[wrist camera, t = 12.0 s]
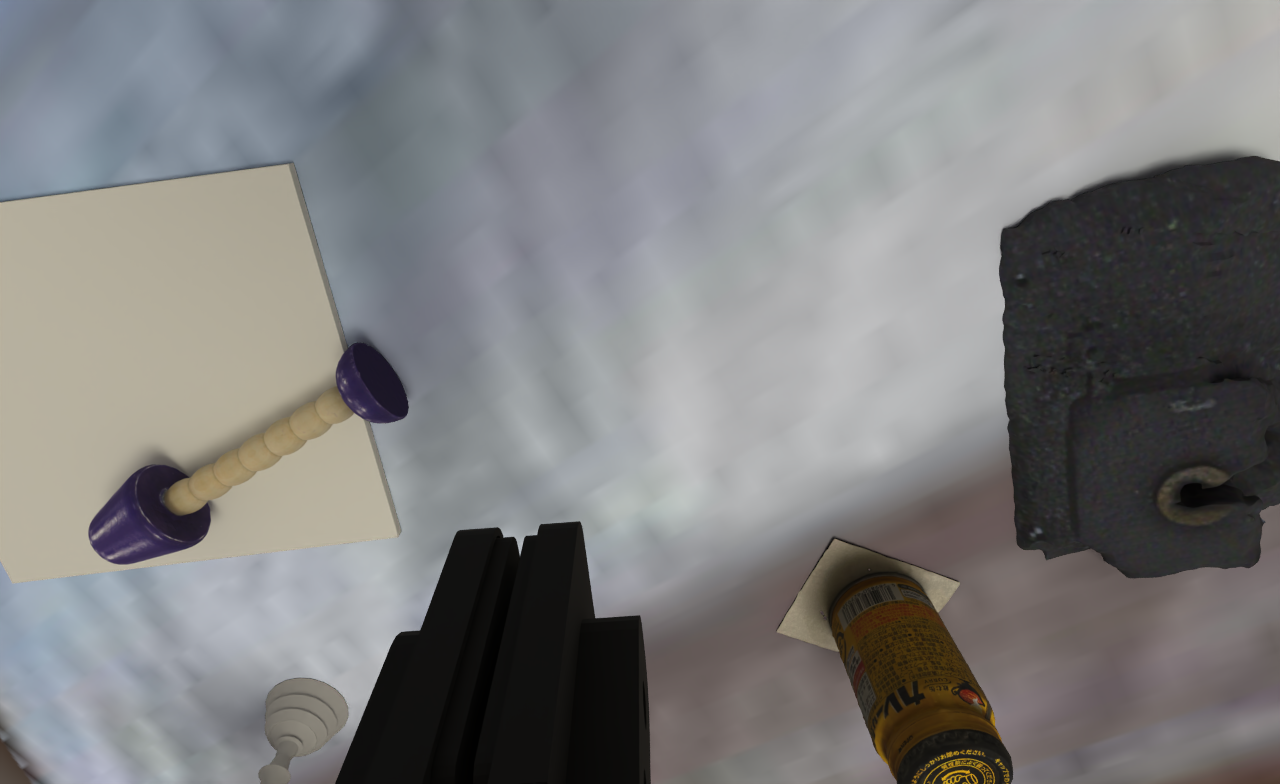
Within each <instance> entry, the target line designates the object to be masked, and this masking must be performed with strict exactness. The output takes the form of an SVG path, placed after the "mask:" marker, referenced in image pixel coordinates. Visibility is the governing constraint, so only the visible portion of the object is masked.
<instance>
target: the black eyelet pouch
mask: <svg viewBox="0 0 1280 784" xmlns="http://www.w3.org/2000/svg"><path fill="white" fill-rule="evenodd" d="M1000 247H1001V251H1002V257H1001V261H1000V266H999V276H1000V282H1001V286H1002V290H1003V297H1004V298H1005V310H1004V313H1003V317H1002V321H1003V324H1004V330H1003V342H1004V346H1005V355H1004V370H1005V381H1004V388H1005V391H1006V398H1005V402H1006V408H1007V415H1008V417H1009V419H1010V421H1009V423H1008V427H1007V429H1008V432H1009V451H1010V456H1011V463H1012V480H1013V486H1014V502H1015V516H1014V522H1015V526H1016V531H1017V536H1016V539H1017V545H1018V546H1019V547H1020V548H1021V549H1023V550H1037V549H1040V550H1042V551H1043V552H1044V555H1045V558H1046V560H1048V559H1052V558H1055V557H1059V556H1062V555H1066V554H1070V553H1075V552H1080V551H1084V550H1087V549H1090V548H1092V549H1093V550H1096V551H1097V552H1099V553H1101V555H1102V557H1103V560H1104V561H1105V562H1107V563H1108V564H1110V565H1112V566H1114V567H1116V568H1117V569H1118V570H1119V571H1120V572H1122V573H1123V574H1124V575H1125V576H1126V577H1128V578H1153V577H1162V576H1166V575H1170V574H1176V573H1179V572H1182V571H1186V570H1193V569H1197V568H1202V567H1218V568H1222V569H1228V568H1236V567H1245V568H1250V567H1252V566H1254V565H1255V564H1256V563H1257V562H1258V561H1259V558H1260V553H1261V548H1260V540H1261V535H1262V526H1263V524H1264V523H1265V521H1264V520H1262V519H1261V518H1260V514H1259V513H1260V512H1261V510H1264V509H1266V508H1267V507H1269V506H1274V505H1277V504H1279V503H1280V162H1279V161H1275V160H1270V159H1265V158H1261V157H1257V156H1251V157H1244V158H1240V159H1237V160H1234V161H1227V162H1220V163H1215V164H1210V165H1202V166H1192V165H1187V166H1184V168H1181V169H1174V170H1170V171H1168V172H1166V173H1164V174H1161V175H1156V176H1154V177H1153V178H1148V179H1139V180H1132V181H1126V182H1120V183H1114V184H1110V185H1107V186H1104V187H1102V188H1099V189H1096V190H1094V191H1093V192H1087V193H1084V194H1082V195H1079V196H1077V197H1075V198H1074V199H1072V200H1071V201H1070V200H1060V201H1055V202H1051V203H1049V204H1048V205H1047V206H1045V207H1044V208H1043V209H1040V210H1037V211H1034V212H1032V213H1031V214H1030V215H1029V216H1028V217H1026V218H1025V219H1024V221H1023V222H1022V223H1021V224H1020V225H1019V226H1018V227H1017V228H1011V229H1004V230H1003V233H1002V238H1001V245H1000Z"/></svg>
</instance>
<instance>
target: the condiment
mask: <svg viewBox="0 0 1280 784" xmlns="http://www.w3.org/2000/svg"><path fill="white" fill-rule="evenodd" d="M868 569H870V571H869V570H868ZM959 584H960V583H959V582H956V581H953V580H951V579H948V578H946V577H943V576H940V575H938V574H935V573H933V572H928V571H926V570H924V569H922V568H919V567H916V566H913V565H909V564H907V563H904V562H901V561H898V560H895V559H891V558H887V557H884V556H882V555H880V554H878V553H874V552H872V551H869V550H867V549H864V548H861V547H857V546H853V545H850V544H847V543H845V542H842V541H839V540H837V539H834V540H833V542H832V543H831V545H830V546H829V548H828V550H826V551H825V553H824V555H823V557H822V558H821V559H820V561H819V562H818V564H817V566H816V568H815V569H814V570H813V572H812V573H811V575H810V577H809V578H808V580H807V581H806V583H805V585H804V587H803V588H802V590H801V591H800V592H799V593H798V596H797V598H796V600H795V602H794V604H793V605H792V607H791V608H790V610H789V611H788V613H787V614H786V616H785V618H784V620H783V622H782V624H781V625H780V627H779V628H778V630H777V632H778V633H781V634H784V635H786V636H789V637H793V638H797V639H800V640H802V641H804V642H807V643H812V644H815V645H818V646H820V647H823V648H827V649H830V650H834V651H838V652H839V653H840V657H841V659H842V661H843V663H844V666H845V669H846V672H847V674H848V676H849V679H850V682H851V685H852V688H853V690H854V693H855V696H856V698H857V701H858V705H859V707H860V709H861V711H862V714H863V718H864V720H865V724H866V726H867V728H868V730H869V733H870V735H871V738H872V742H873V745H874V748H875V750H876V752H877V753H878V754H879V755H880V757H881V758H882V759H883V761H884V762H886V763H887V764H888V765H889V768H890V771H891V773H892V775H893V776H894V778H895V779H896V781H897V784H1011V782H1012V780H1013V767H1012V761H1011V756H1010V755H1009V753H1008V751H1007V750H1006V748H1005V746H1004V744H1003V743H1002V741H1001V737H1000V735H999V733H998V731H997V729H996V728H995V717H994V713H993V710H992V708H991V706H990V704H989V701H988V700H987V698H986V696H985V694H984V692H983V690H982V689H981V687H980V686H979V684H978V682H977V681H976V679H975V677H974V675H973V674H972V672H971V670H970V668H969V666H968V664H967V663H966V661H965V660H964V658H963V656H962V654H961V653H960V651H959V649H958V648H957V646H956V644H955V642H954V640H953V638H952V637H951V635H950V634H949V632H948V630H947V628H946V627H945V625H944V623H943V621H942V619H941V618H940V616H939V614H938V613H939V611H940V610H941V609H942V608H943V607H944V605H945V604H946V603H947V602H948V600H949V599H950V597H951V596H952V595H953V593H954V592H955V591H956V589H957V588H958V586H959ZM820 611H823V612H824V615H821V614H820ZM824 616H826V617H827V619H826V620H824V618H823V617H824Z"/></svg>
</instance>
